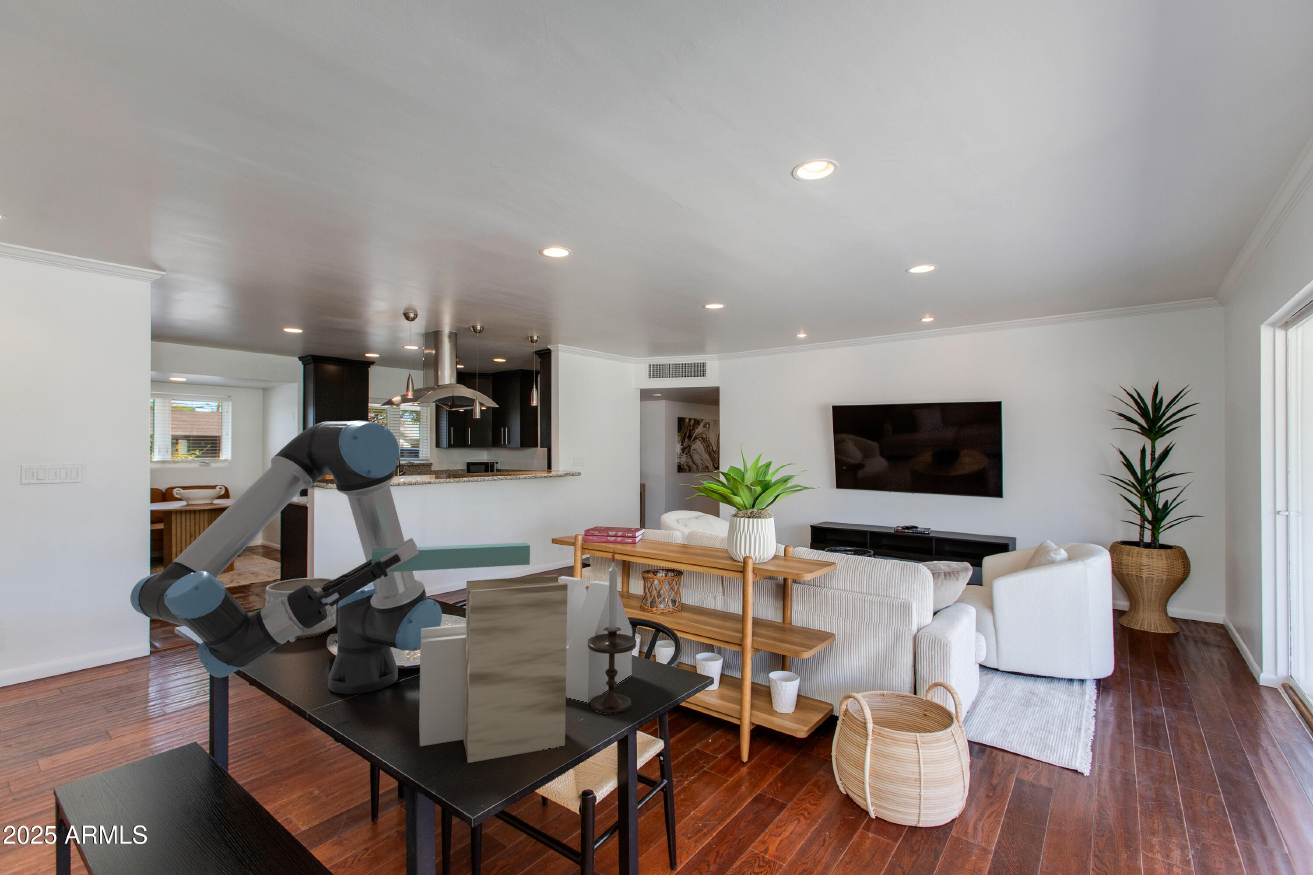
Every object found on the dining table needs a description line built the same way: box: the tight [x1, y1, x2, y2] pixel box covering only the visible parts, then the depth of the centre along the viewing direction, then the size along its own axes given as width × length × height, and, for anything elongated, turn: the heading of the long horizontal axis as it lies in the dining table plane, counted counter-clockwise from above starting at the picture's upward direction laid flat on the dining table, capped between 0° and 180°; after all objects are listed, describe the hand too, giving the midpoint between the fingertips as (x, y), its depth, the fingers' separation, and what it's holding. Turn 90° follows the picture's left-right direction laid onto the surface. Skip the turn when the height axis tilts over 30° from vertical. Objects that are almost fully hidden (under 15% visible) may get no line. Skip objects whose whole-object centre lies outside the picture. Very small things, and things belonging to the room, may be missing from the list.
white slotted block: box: [558, 575, 633, 704], centre depth 151 cm, size 19×15×25 cm
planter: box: [265, 577, 337, 639], centre depth 187 cm, size 19×19×14 cm
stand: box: [463, 574, 568, 764], centre depth 120 cm, size 9×18×31 cm, turn 112°
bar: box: [372, 542, 531, 572], centre depth 125 cm, size 4×30×4 cm, turn 112°
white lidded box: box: [418, 623, 466, 747], centre depth 126 cm, size 9×18×20 cm, turn 112°
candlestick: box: [588, 549, 637, 715], centre depth 138 cm, size 11×11×35 cm
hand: (415, 545), depth 122 cm, fingers closed on bar, 4 cm apart
